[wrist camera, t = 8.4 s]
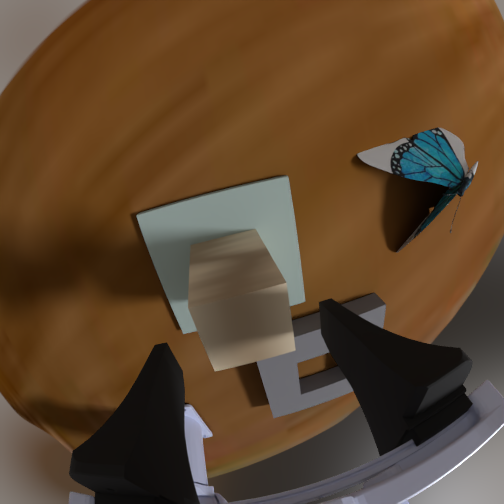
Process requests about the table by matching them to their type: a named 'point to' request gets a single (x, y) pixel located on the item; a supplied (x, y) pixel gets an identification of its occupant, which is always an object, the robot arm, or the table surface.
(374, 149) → the decorative butterfly
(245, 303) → the maple block
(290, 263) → the rubber mat
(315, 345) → the pocket holder
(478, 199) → the table surface
